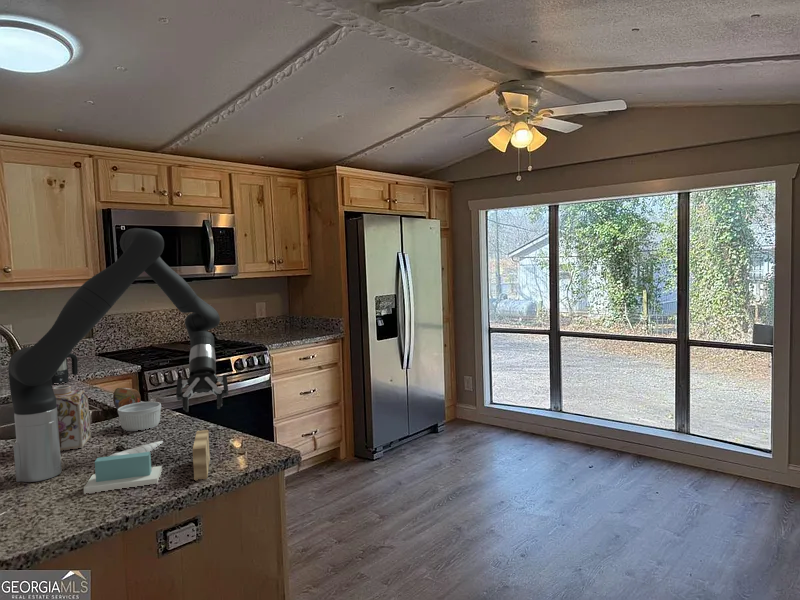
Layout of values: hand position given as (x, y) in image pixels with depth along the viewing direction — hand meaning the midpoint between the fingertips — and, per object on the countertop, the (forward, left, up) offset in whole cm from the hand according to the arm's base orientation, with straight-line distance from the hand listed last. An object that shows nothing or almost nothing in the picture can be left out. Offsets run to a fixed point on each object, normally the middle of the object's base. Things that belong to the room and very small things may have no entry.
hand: (202, 409), depth 160 cm
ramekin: (-22, +35, -12) cm, 43 cm away
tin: (-30, +60, -12) cm, 68 cm away
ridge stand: (-18, -17, -12) cm, 28 cm away
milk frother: (-73, +133, -12) cm, 153 cm away
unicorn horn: (-18, +2, -13) cm, 22 cm away
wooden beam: (0, -14, -12) cm, 19 cm away
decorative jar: (-41, +22, -12) cm, 48 cm away
